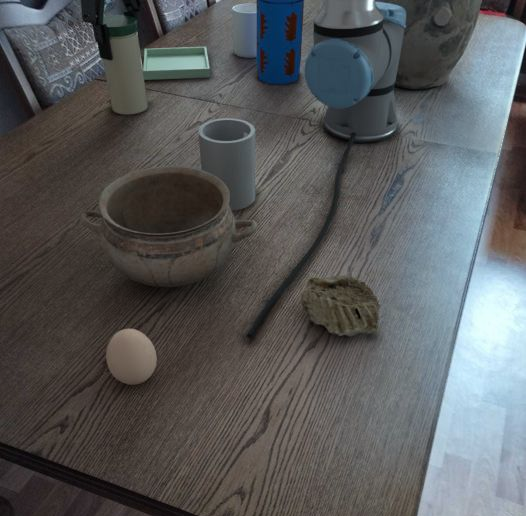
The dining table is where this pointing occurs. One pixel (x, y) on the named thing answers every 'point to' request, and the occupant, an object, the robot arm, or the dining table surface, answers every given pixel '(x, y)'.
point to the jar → (126, 75)
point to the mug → (245, 30)
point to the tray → (176, 63)
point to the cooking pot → (167, 225)
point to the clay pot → (433, 39)
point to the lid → (120, 25)
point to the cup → (230, 157)
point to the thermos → (279, 40)
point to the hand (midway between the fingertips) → (120, 52)
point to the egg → (131, 357)
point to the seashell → (341, 305)
